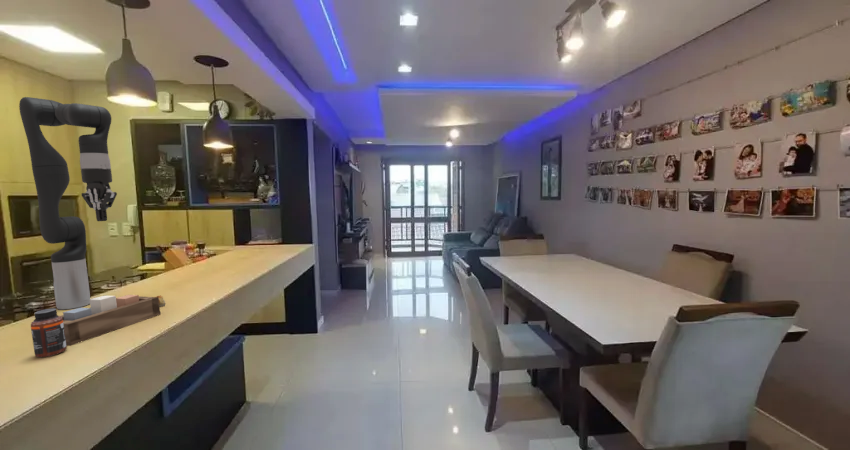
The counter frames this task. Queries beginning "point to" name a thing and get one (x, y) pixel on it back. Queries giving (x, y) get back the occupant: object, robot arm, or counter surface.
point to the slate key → (77, 313)
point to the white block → (102, 304)
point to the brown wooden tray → (110, 320)
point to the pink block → (126, 300)
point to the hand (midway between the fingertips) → (102, 221)
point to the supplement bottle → (48, 333)
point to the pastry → (161, 301)
